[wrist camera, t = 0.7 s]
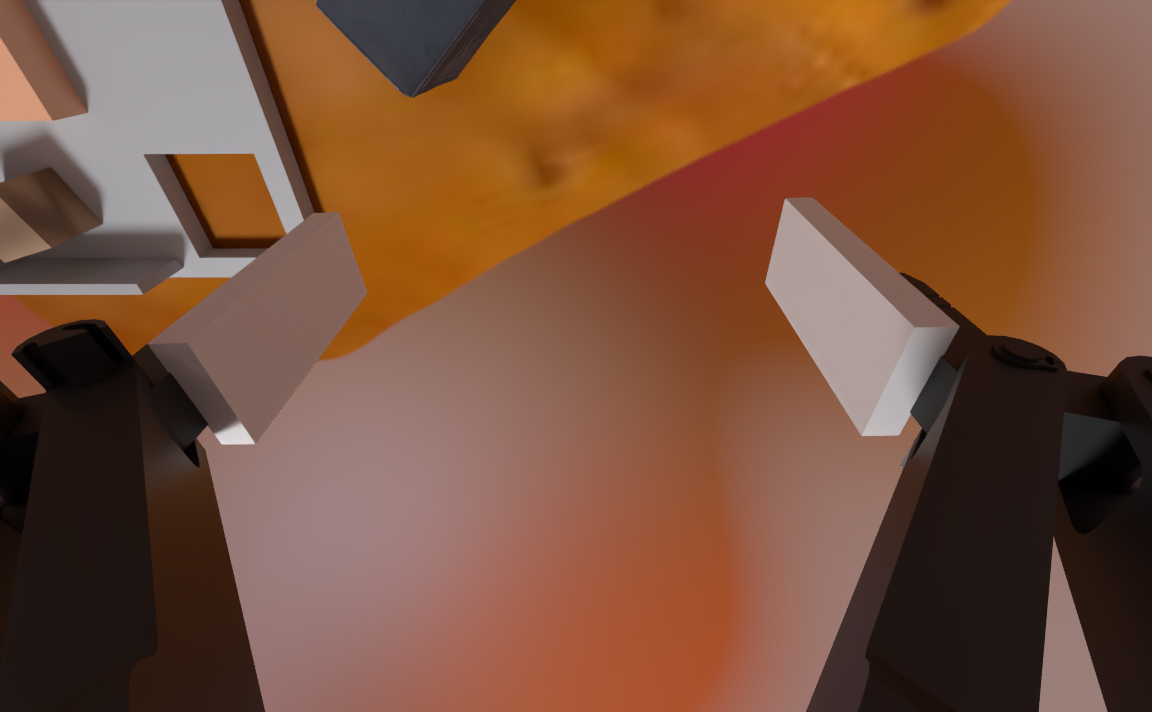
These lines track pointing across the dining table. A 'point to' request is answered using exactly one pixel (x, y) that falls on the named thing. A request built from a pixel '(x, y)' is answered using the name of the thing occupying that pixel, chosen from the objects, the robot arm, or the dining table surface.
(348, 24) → the box
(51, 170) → the walnut block
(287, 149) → the cubby deck
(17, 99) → the terracotta tile
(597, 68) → the dining table surface
